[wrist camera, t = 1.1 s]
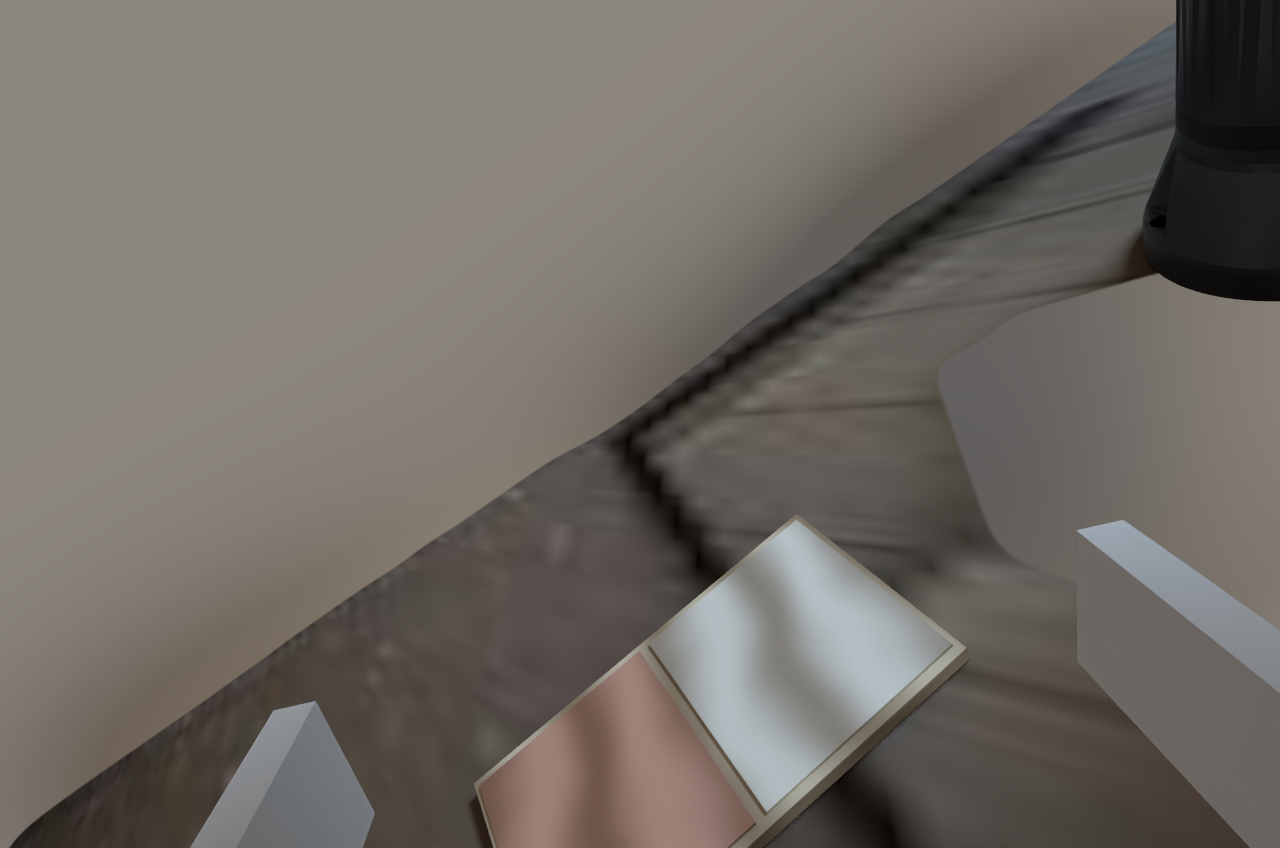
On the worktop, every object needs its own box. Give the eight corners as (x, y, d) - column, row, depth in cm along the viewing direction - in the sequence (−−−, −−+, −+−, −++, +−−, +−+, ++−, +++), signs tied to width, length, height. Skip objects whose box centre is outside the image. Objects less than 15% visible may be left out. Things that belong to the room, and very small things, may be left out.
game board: (801, 523, 44) (795, 512, 43) (970, 658, 34) (966, 645, 33) (483, 790, 41) (472, 782, 40) (560, 1033, 30) (545, 1027, 30)
